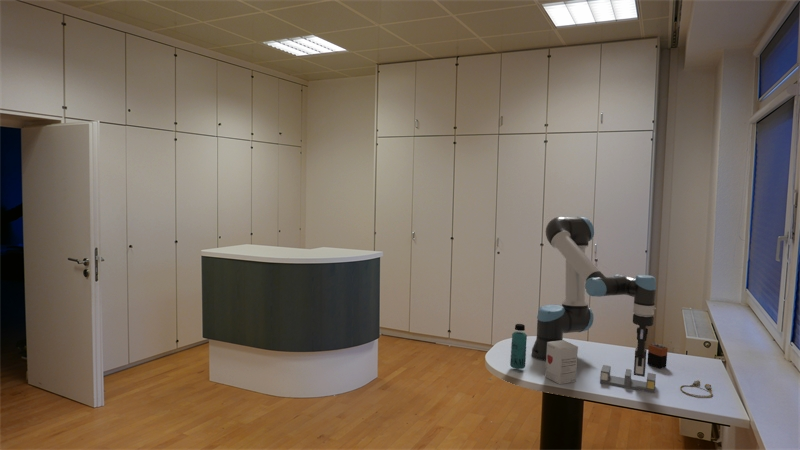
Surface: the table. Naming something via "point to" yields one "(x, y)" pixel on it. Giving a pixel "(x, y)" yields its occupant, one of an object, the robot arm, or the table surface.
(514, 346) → the beverage bottle
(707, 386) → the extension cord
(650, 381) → the grey three-post rail
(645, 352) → the plug
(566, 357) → the supplement box
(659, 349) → the battery
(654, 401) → the table surface
